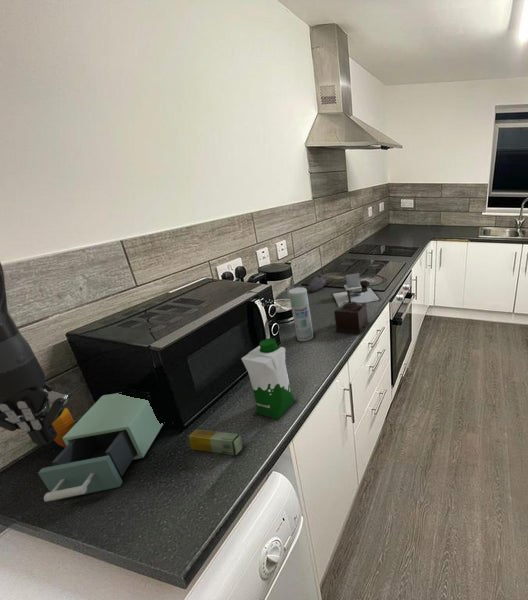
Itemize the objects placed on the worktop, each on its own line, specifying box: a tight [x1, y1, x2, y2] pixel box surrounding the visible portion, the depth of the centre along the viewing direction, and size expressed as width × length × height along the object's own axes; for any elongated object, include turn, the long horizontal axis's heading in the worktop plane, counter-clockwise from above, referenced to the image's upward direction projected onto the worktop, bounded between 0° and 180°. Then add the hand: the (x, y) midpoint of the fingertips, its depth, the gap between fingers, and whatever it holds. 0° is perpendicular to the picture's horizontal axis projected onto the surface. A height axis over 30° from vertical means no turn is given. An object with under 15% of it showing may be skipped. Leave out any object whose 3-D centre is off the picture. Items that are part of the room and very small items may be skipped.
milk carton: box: [240, 337, 295, 420], centre depth 86 cm, size 9×9×20 cm
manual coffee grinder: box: [333, 279, 370, 335], centre depth 133 cm, size 16×11×18 cm
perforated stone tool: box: [307, 273, 326, 293], centre depth 176 cm, size 15×5×7 cm, turn 158°
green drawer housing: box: [62, 392, 164, 461], centre depth 79 cm, size 15×13×10 cm
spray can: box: [288, 286, 314, 342], centre depth 123 cm, size 6×6×20 cm
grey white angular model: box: [332, 272, 381, 307], centre depth 163 cm, size 19×21×12 cm
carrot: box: [48, 406, 76, 448], centre depth 76 cm, size 5×5×15 cm
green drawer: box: [37, 430, 137, 502], centre depth 69 cm, size 18×11×8 cm, turn 14°
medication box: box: [188, 429, 243, 456], centre depth 76 cm, size 12×3×4 cm, turn 81°
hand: (47, 441), depth 60 cm, fingers closed
